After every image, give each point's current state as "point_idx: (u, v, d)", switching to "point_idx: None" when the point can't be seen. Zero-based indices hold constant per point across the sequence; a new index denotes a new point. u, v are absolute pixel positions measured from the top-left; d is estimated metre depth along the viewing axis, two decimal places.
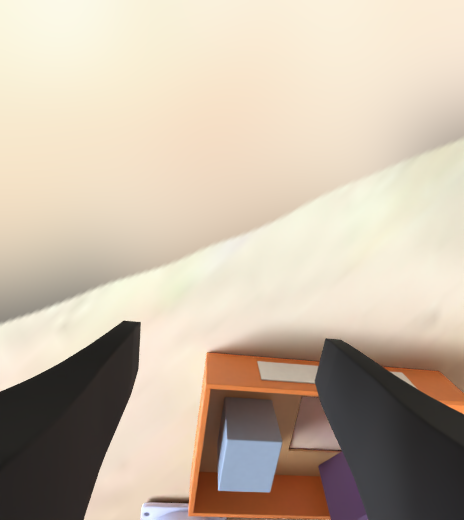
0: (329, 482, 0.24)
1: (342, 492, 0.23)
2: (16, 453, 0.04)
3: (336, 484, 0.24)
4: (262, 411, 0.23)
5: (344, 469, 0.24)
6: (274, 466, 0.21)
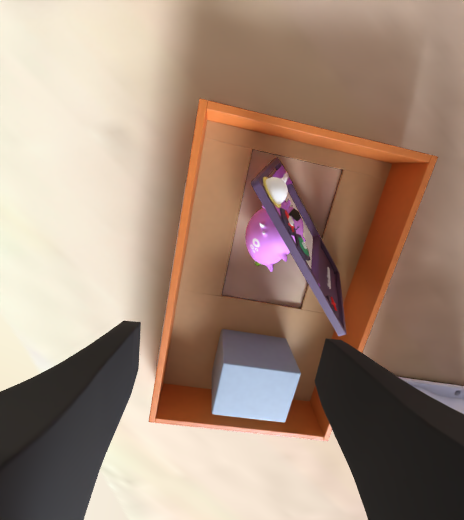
0: None
1: None
2: (16, 453, 0.04)
3: None
4: (219, 351, 0.20)
5: None
6: (259, 370, 0.18)
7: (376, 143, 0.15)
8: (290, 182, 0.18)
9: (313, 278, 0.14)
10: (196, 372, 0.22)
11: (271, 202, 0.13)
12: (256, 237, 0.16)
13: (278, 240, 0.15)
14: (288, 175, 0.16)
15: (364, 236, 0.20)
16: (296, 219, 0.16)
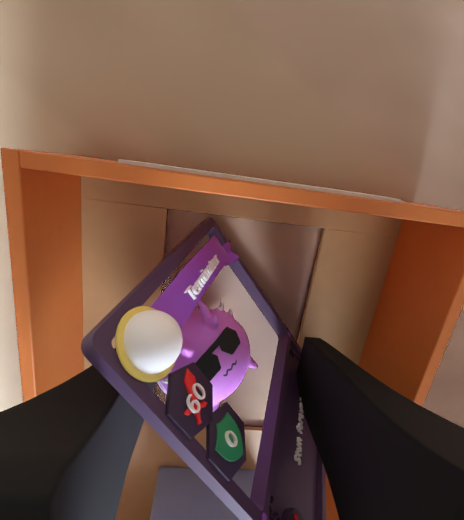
0: None
1: None
2: (74, 455, 0.04)
3: None
4: None
5: None
6: None
7: (377, 204, 0.08)
8: (233, 258, 0.11)
9: (249, 515, 0.06)
10: None
11: (133, 384, 0.05)
12: (160, 379, 0.09)
13: None
14: (218, 261, 0.09)
15: (366, 324, 0.13)
16: (229, 349, 0.08)
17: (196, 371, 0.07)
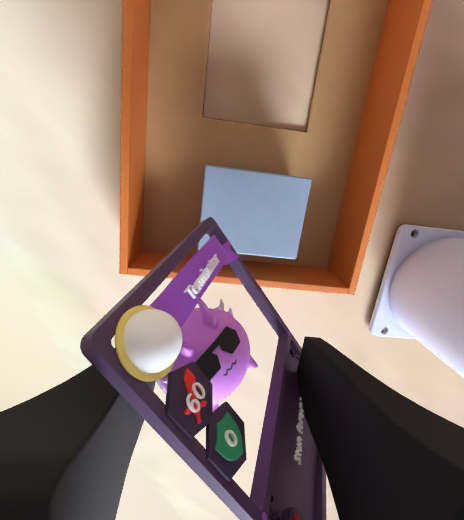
0: None
1: None
2: (74, 455, 0.04)
3: None
4: None
5: None
6: (255, 175, 0.13)
7: None
8: (233, 257, 0.11)
9: (249, 514, 0.06)
10: (181, 232, 0.18)
11: (132, 383, 0.05)
12: (159, 379, 0.09)
13: None
14: (218, 260, 0.09)
15: (382, 13, 0.15)
16: (229, 349, 0.08)
17: (196, 370, 0.07)
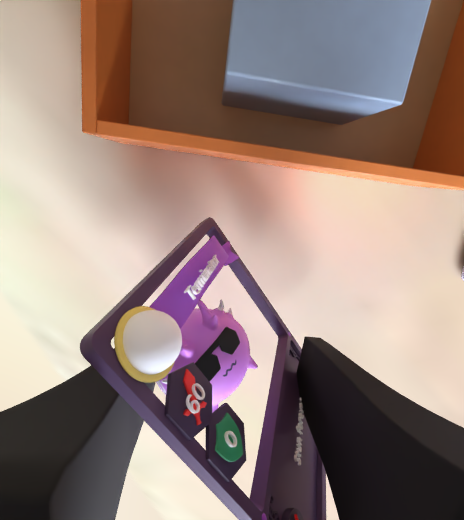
0: None
1: None
2: (73, 455, 0.04)
3: None
4: None
5: None
6: None
7: None
8: (233, 258, 0.11)
9: (248, 515, 0.06)
10: (191, 103, 0.11)
11: (132, 384, 0.05)
12: (159, 380, 0.09)
13: None
14: (218, 261, 0.09)
15: None
16: (229, 350, 0.08)
17: (196, 371, 0.07)
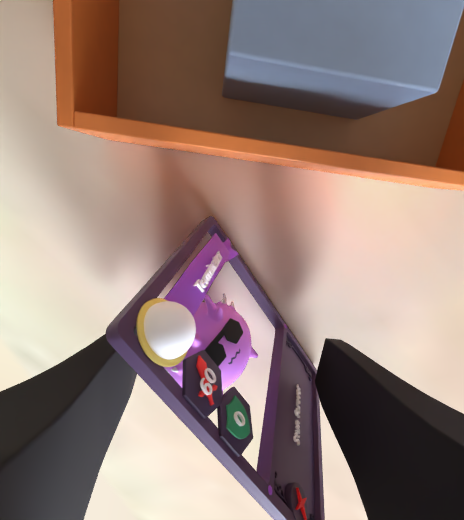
0: None
1: None
2: (16, 453, 0.04)
3: None
4: None
5: None
6: None
7: None
8: (233, 254, 0.11)
9: (257, 487, 0.07)
10: (187, 95, 0.10)
11: (154, 368, 0.06)
12: (167, 369, 0.09)
13: None
14: (221, 257, 0.10)
15: None
16: (233, 339, 0.09)
17: (206, 358, 0.07)
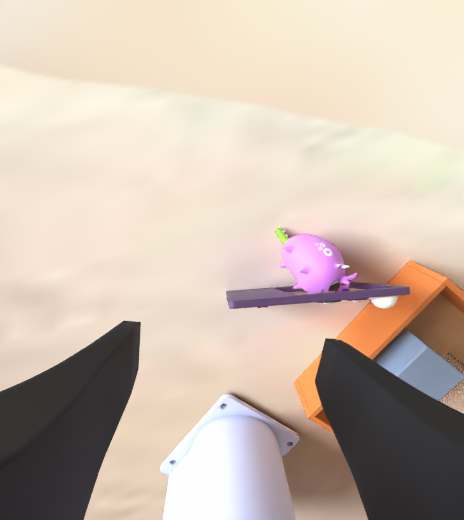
0: (236, 293, 0.18)
1: (253, 294, 0.17)
2: (16, 453, 0.04)
3: (246, 293, 0.18)
4: None
5: (261, 290, 0.19)
6: (438, 399, 0.19)
7: None
8: None
9: (305, 302, 0.14)
10: None
11: (387, 296, 0.14)
12: (333, 255, 0.16)
13: (326, 275, 0.16)
14: None
15: None
16: None
17: None
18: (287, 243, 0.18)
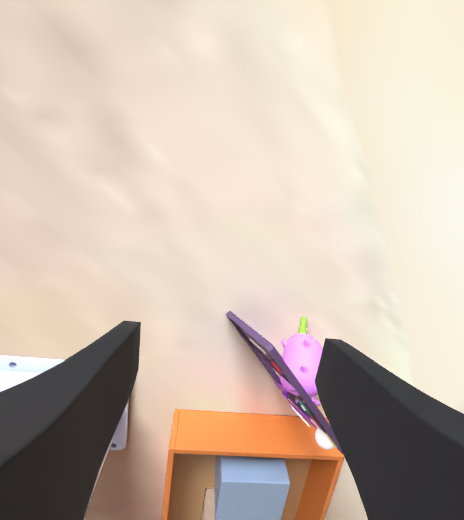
0: None
1: None
2: (16, 453, 0.04)
3: None
4: None
5: None
6: (251, 519, 0.22)
7: None
8: (278, 384, 0.23)
9: (302, 396, 0.16)
10: None
11: (334, 442, 0.17)
12: None
13: (311, 387, 0.18)
14: (290, 405, 0.21)
15: None
16: (292, 394, 0.19)
17: (311, 418, 0.18)
18: (306, 337, 0.20)
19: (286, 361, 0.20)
